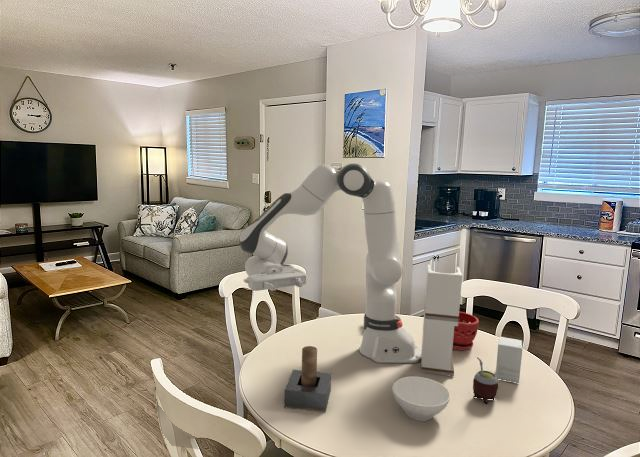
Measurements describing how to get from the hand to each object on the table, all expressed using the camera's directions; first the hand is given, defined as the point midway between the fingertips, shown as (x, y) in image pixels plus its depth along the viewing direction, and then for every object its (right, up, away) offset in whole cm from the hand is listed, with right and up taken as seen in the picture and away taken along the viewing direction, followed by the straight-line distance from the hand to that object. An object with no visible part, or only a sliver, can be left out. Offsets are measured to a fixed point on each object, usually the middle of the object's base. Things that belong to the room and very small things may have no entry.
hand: (287, 286), depth 140 cm
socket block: (+7, -32, -11) cm, 34 cm away
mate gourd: (+60, -33, -8) cm, 69 cm away
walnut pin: (+7, -31, -11) cm, 34 cm away
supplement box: (+73, -32, +6) cm, 80 cm away
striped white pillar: (+51, -30, +12) cm, 60 cm away
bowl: (+39, -34, -16) cm, 54 cm away
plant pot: (+65, -27, +30) cm, 76 cm away
